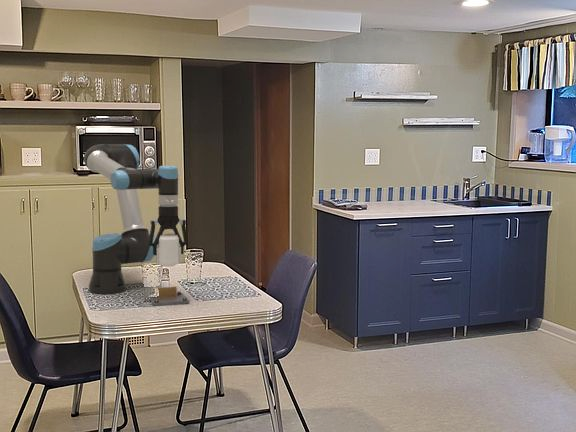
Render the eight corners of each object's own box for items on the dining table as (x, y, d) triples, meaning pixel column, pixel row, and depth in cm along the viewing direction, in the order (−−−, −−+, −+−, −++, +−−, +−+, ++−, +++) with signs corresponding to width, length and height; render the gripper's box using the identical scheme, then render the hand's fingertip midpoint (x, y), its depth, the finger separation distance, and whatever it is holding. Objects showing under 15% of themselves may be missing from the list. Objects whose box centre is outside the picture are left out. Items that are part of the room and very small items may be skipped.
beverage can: (169, 262, 282) (169, 232, 281) (183, 264, 277) (183, 234, 276) (153, 264, 276) (153, 234, 275) (167, 267, 271) (167, 236, 270)
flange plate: (153, 306, 270) (153, 295, 270) (147, 297, 283) (147, 288, 283) (189, 303, 275) (189, 293, 274) (182, 295, 288) (182, 286, 287)
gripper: (142, 207, 267) (143, 265, 270) (196, 206, 274) (196, 263, 277) (139, 204, 274) (140, 262, 277) (192, 204, 281) (192, 260, 284)
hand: (168, 262), depth 277 cm, fingers closed on beverage can, 8 cm apart
